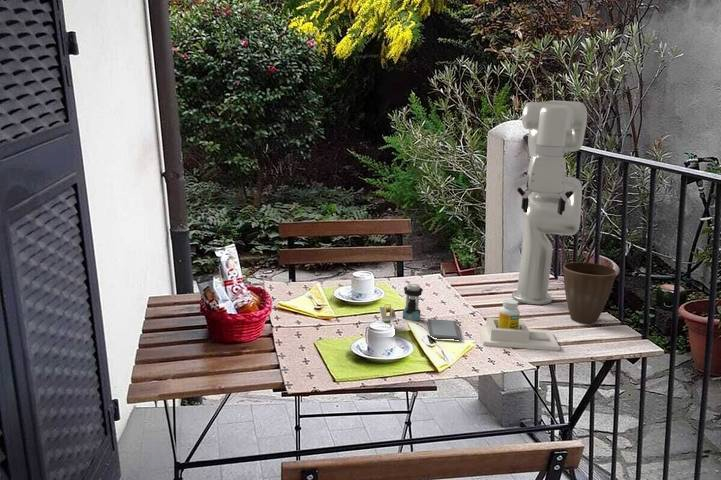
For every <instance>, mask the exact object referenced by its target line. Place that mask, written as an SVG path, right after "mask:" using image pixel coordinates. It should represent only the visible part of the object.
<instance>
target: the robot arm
mask: <svg viewBox="0 0 721 480" xmlns="http://www.w3.org/2000/svg"><path fill="white" fill-rule="evenodd" d="M587 122H588V111H587V107H586V105H585V103H583V102H581V101H571V100H568V101H567V100H557V99H556V100H554V99H553V100H547V101H529V102H527V103H526V104H524V107H523V109H522V113H521V124H522V126H523V128H524V129H526V130H529V131H528V136H527V137H528V138H527V142H528V143H527V145H528V153H529V156H530V161H529V164H528V168H527V175H525V176H523V177H521V178H519V179H516V180H515V181H513V184H514V186H515V189H516V191H517V192H518V194H519V195H521V197H522V198H521V206H520V207H521V210H522V212H523V213H522V227H523V228H522V244H521V255H520V262H519V263H520V264H519V272H518V281H517V282H518V283H517V290H514V291H513V292H512V293H511V299H513V300H516V301H518V302H520V303H523V304H527V305H528V304H529V305H548V304H550V303H552V301H553V297H552V296H551V295H550V294H549V293H548V292H549V285H550V275H551V268H552V259H553V251H554V250H553V248H554V247H553V244H552V242H551V240H550V239H549V237H548V236H547V235H550V234H551V235H558V236H559V235H561V236H573V235H576V234H577V233H578V232H579V229H580V224H581V216H582V215H581V213H582V212H581V211H582V199H583V189H582V188H583V187H582V186H583V185H582V184H581V181H580V180H579V179H578V178H576V177H572V176H567V174H566V173H567V163H566V157H564V156H565V155H566V154H568V155H569V154H570V152H577V151H580V150H581V148H582V146H583V144H584V139H585V134H586V128H587ZM522 184H525V187H526V189H525V190H523V189H522V186H521V185H522ZM529 196H530V199H531V200H532V201H533V202H530V203H529V201H530V200H529Z"/></svg>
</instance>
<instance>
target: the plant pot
mask: <svg viewBox="0 0 721 480" xmlns="http://www.w3.org/2000/svg"><path fill="white" fill-rule="evenodd" d="M562 267H563V281H564V282H563V283H564V293H565V298H566V304H567V309H568V313H569V317H570V319H571V321H573V322H576V323H578V324H584V325H590V324H591V325H593V324H596V323H597V322H598V319H599V318H600V317H601V314H602V312H603V311H604V309H605V306H606V304H607V302H608V299H609V297H610V294H611V291H612V288H613V286H614V282H615V279H616V275H617V271H616V270H615V269H614V268H612V267H610V266H607V265H604V264H599V263H594V262H593V263H592V262H585V261H584V262H581V261H580V262H578V261H575V262H566V263H564V264H563V266H562Z"/></svg>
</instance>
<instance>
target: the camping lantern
mask: <svg viewBox="0 0 721 480" xmlns="http://www.w3.org/2000/svg"><path fill="white" fill-rule="evenodd" d="M403 290H404V295H406V299H405V306H404V309H402V319H405V320H409V321H419V320H425V319H426V318H425V316H426V315H424V314H421V309H420V308H419V301H420V296H422V294H423V293H422V292H423V290H424V289H423V288H422V287H421V286H420V284H417V283H408V284H407V286H404V288H403Z"/></svg>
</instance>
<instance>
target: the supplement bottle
mask: <svg viewBox="0 0 721 480" xmlns="http://www.w3.org/2000/svg"><path fill="white" fill-rule="evenodd" d="M502 300H503V301H502V307H500V309H499V312H498V313H499V314H498V318H499V323H498V328H501V329H516V330H518V324H519V320H520V313H521V312H520V310H519V308H518V307H519V301H517V300H515V299H513V298H511V299H510V298H506V299H502Z"/></svg>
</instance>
